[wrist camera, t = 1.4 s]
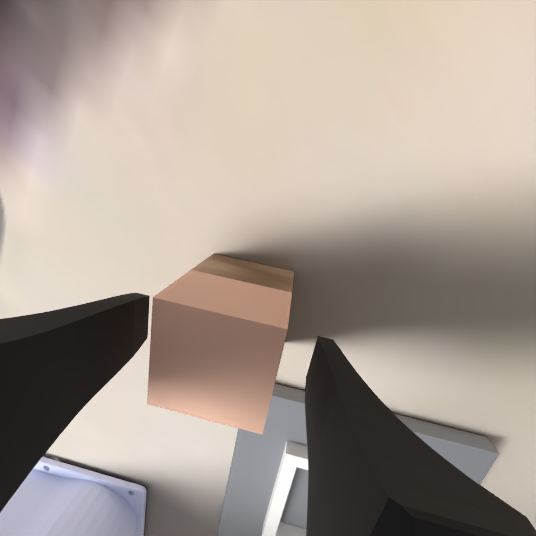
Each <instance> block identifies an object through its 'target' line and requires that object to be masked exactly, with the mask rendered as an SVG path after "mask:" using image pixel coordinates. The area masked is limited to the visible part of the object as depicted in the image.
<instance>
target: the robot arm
mask: <svg viewBox="0 0 536 536" xmlns="http://www.w3.org/2000/svg"><path fill="white" fill-rule="evenodd" d="M148 314H149V296H147V295H143V294H139V293H130V294H125V295H120V296H115V297H111V298H107V299H103V300H99V301H95V302H90V303H86V304H82V305H77V306H73V307H68V308H63V309H59V310H54V311H49V312H44V313H38V314H33V315H26V316H19V317H13V318H5V319H0V536H144V523H145V506H146V489H145V487H143V486H141V485H138V484H135V483H131V482H128V481H124V480H121V479H118V478H114V477H111V476H107V475H104V474H100V473H97V472H94V471H90V470H87V469H83V468H80V467H76V466H73V465H70V464H66V463H63V462H59V461H56V460H52V459H49V458H46V457H43V455H44V454H45V453H46V452H47V450H48V449H49V448H50V446H51V445H52V444H53V443H54V441H55V440H56V439H57V438H58V436H59V435H60V434H61V433H62V432H63V430H64V429H65V428H66V427H67V426H68V424H69V423H70V422H71V421H72V420H73V418H74V417H75V416H76V415H77V414H78V412H79V411H80V410H81V409H82V408H83V407H84V406H85V405H86V404H87V403H88V402H89V400H90V399H91V398H92V397H93V396H94V395H95V394H96V393H97V392H99V391H100V390H101V389H102V388H103V387H104V386H105V385H106V384H107V383H108V382H109V381H110V380H111V379H112V378H113V377H114V376H115V375H116V374H117V373H118V372H119V371H120V369H121V368H122V367H123V366H124V365H125V364H126V363H127V362H128V361H129V360H130V359H131V358H132V357H133V356H134V355H135V353H136V352H137V351H138V350H139V348H140V347H141V346H142V344H143V343H144V341H145V340H146V339H147V335H148ZM305 416H306V433H307V451H308V502H307V527H306V536H536V530H535V529H534V527H533V526H532V524H531V523H530V521H529V520H528V518H527V517H525V516H524V515H522V514H521V513H520V512H518V511H517V510H515V509H514V508H512V507H511V506H509V505H508V504H507V503H505V502H504V501H502V500H501V499H499V498H498V497H496V496H495V495H494V494H492V493H491V492H489V491H488V490H486V489H485V488H483V487H482V486H481V485H479V484H478V483H476V482H475V481H473V480H472V479H471V478H469V477H468V476H467V475H465V474H464V473H463V472H462V471H460V470H459V469H458V468H456V467H455V466H454V465H452V464H451V463H450V462H448V461H447V460H446V459H445V458H443V457H442V456H441V455H440V454H438V453H437V452H436V451H435V450H433V449H432V448H431V447H430V446H429V445H427V444H426V443H425V442H424V441H423V440H422V439H421V438H419V437H418V436H417V435H416V434H415V433H414V432H413V431H411V430H410V429H409V428H408V427H407V426H406V425H405V424H404V423H403V422H402V421H401V420H400V419H398V418H397V417H396V416H395V415H394V414H393V413H392V411H391V410H390V409H389V408H388V407H387V406H386V405H385V404H384V403H383V402H382V401H381V400H380V399H379V398H378V397H377V396H376V395H375V394H374V392H373V391H372V390H371V389H370V388H369V387H368V385H367V384H366V383H365V382H364V381H363V379H362V378H361V377H360V376H359V374H358V373H357V372H356V370H355V369H354V368H353V366H352V365H351V364H350V362H349V361H348V360H347V358H346V357H345V355H344V354H343V353H342V351H341V350H340V348H339V347H338V346H337V344H336V343H335V341H334V340H332V339H328V338H324V337H320V336H318V338H317V341H316V345H315V348H314V352H313V355H312V359H311V362H310V366H309V369H308V373H307V376H306V388H305Z"/></svg>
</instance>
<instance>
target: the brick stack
mask: <svg viewBox="0 0 536 536" xmlns="http://www.w3.org/2000/svg"><path fill="white" fill-rule="evenodd" d="M294 273H295V271H291V270H286V269H282V268H277V267H273V266H268V265H264V264H259V263H255V262H250V261H246V260H241V259H237V258H232V257H227V256H223V255H218V254H213V255H211V256H210V257H209V258H207V259H206V260H204V261H203V262H202V263H200V264H199V265H197V266H196V267H195V268H193V269H192V270H190V271H189V272H188V273H186V274H185V275H184V276H182V277H181V278H179V279H178V280H177V281H175V282H174V283H172V284H171V285H170V286H168V287H167V288H165V289H164V290H163V291H161V292H160V293H158V294H157V295H156V296H154V297H153V306H152V325H151V343H150V361H149V380H148V398H147V404H149V405H153V406H157V407H161V408H164V409H168V410H172V411H176V412H179V413H183V414H187V415H191V416H194V417H198V418H202V419H205V420H209V421H213V422H217V423H220V424H224V425H228V426H232V427H235V428H239V429H243V430H247V431H250V432H254V433H258V434H263V430H264V426H265V422H266V418H267V414H268V409H269V405H270V401H271V397H272V393H273V389H274V384H275V380H276V376H277V372H278V368H279V364H280V360H281V355H282V351H283V347H284V343H285V339H286V335H287V330H288V323H289V315H290V306H291V298H292V289H293V281H294Z"/></svg>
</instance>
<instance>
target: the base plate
mask: <svg viewBox="0 0 536 536" xmlns="http://www.w3.org/2000/svg"><path fill="white" fill-rule="evenodd" d="M393 414H394V413H393ZM394 415H395V416H396V417H397V418H398V419H400V420H401V421H402V422H403V423H404V424H405V425H406V426H407V427H408V428H409V429H410V430H411V431H413V432H414V433H415V434H416V435H417V436H418V437H419V438H421V439H422V440H423V441H424V442H425V443H426V444H427V445H429V446H430V447H431V448H432V449H433V450H435V451H436V452H437V453H438V454H440V455H441V456H442V457H443V458H445V459H446V460H447V461H448V462H450V463H451V464H452V465H454V466H455V467H456V468H458V469H459V470H460V471H462V472H463V473H464V474H465V475H467V476H468V477H469V478H471V479H472V480H473V481H475V482H476V483H478V484H479V485H480V483H481V482H482V480H483V478H484V477H485V475H486V474H487V472H488V471H489V469H490V467H491V466H492V464H493V463H494V461H495V460H496V458H497V456H498V455H499V453H498V451H497V450H496V449H495V447H494V446H493V445H492V443H491V442H490V440H489V439H488V438H487V437H485V436H481V435H477V434H473V433H469V432H465V431H461V430H457V429H453V428H449V427H446V426H442V425H438V424H434V423H430V422H426V421H422V420H418V419H414V418H410V417H406V416H402V415H398V414H394ZM307 502H308V451H307V433H306V416H305V391H303V390H299V389H295V388H291V387H287V386H283V385H279V384H274V389H273V393H272V397H271V401H270V405H269V409H268V414H267V418H266V422H265V426H264V430H263V434H258V433H254V432H250V431H247V430H243V429H239V428H238V433H237V438H236V443H235V448H234V453H233V458H232V463H231V468H230V473H229V478H228V483H227V488H226V493H225V498H224V503H223V508H222V513H221V518H220V523H219V528H218V533H217V536H306V527H307Z"/></svg>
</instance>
